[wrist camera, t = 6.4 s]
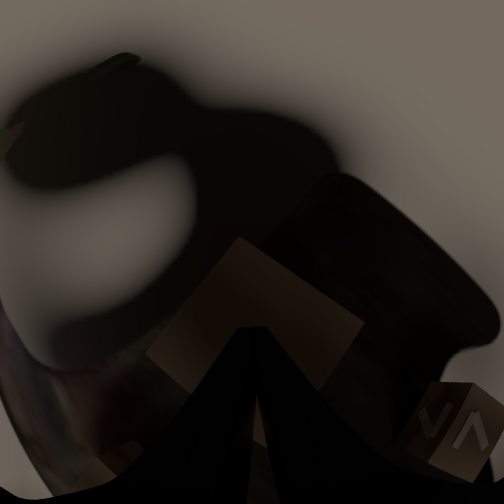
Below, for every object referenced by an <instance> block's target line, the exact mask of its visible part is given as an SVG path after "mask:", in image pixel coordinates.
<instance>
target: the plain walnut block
mask: <svg viewBox="0 0 504 504" xmlns="http://www.w3.org/2000/svg"><path fill="white" fill-rule="evenodd" d="M364 323H365V322H363V321H362V320H360V319H359V318H357V317H356V316H355V315H353V314H352V313H350V312H349V311H347V310H346V309H344V308H343V307H342V306H340V305H339V304H337V303H336V302H334V301H333V300H331V299H330V298H329V297H327V296H326V295H324V294H323V293H321V292H320V291H318V290H317V289H316V288H314V287H313V286H311V285H310V284H308V283H307V282H305V281H304V280H302V279H301V278H300V277H298V276H297V275H295V274H294V273H292V272H291V271H289V270H288V269H287V268H285V267H284V266H282V265H281V264H279V263H278V262H276V261H275V260H273V259H272V258H270V257H269V256H268V255H266V254H265V253H263V252H262V251H260V250H259V249H257V248H256V247H254V246H253V245H252V244H250V243H249V242H247V241H246V240H244V239H243V238H241V237H240V236H239V237H238V238H237V240H236V241H235V242H234V243H233V244H232V246H231V247H230V248H229V249H228V251H227V252H226V253H225V254H224V255H223V257H222V258H221V259H220V260H219V261H218V263H217V264H216V265H215V266H214V268H213V269H212V270H211V271H210V273H209V274H208V275H207V276H206V277H205V279H204V280H203V281H202V282H201V283H200V285H199V286H198V287H197V288H196V290H195V291H194V292H193V293H192V295H191V296H190V297H189V298H188V300H187V301H186V302H185V303H184V304H183V306H182V307H181V308H180V309H179V311H178V312H177V313H176V314H175V316H174V317H173V318H172V319H171V321H170V322H169V323H168V325H167V326H166V327H165V328H164V330H163V331H162V332H161V333H160V335H159V336H158V337H157V338H156V340H155V341H154V342H153V343H152V345H151V346H150V347H149V349H148V350H147V351H146V352H145V354H146V355H147V356H148V357H149V358H150V359H151V360H153V361H154V362H155V363H156V364H157V365H158V366H159V367H160V368H161V369H162V370H164V371H165V372H166V373H167V374H168V375H169V376H170V377H171V378H173V379H174V380H175V381H176V382H177V383H178V384H180V385H181V386H182V387H183V388H184V389H186V390H187V391H188V392H189V393H190V394H192V393H193V391H194V390H195V388H196V387H197V386H198V384H199V383H200V381H201V380H202V379H203V377H204V376H205V374H206V373H207V371H208V370H209V369H210V367H211V366H212V364H213V363H214V361H215V360H216V359H217V357H218V356H219V354H220V353H221V351H222V350H223V348H224V347H225V346H226V344H227V343H228V341H229V340H230V338H231V337H232V335H233V334H234V332H235V331H236V329H237V328H241V327H251V328H253V327H256V326H266V327H267V328H268V329H269V330H270V332H271V333H272V334H273V336H274V337H275V338H276V339H277V341H278V342H279V343H280V345H281V346H282V347H283V348H284V350H285V351H286V352H287V354H288V355H289V356H290V357H291V359H292V360H293V361H294V362H295V364H296V365H297V366H298V368H299V369H300V370H301V371H302V373H303V374H304V375H305V376H306V378H307V379H308V380H309V381H310V383H311V384H312V385H313V386H314V388H315V389H316V390H317V391H319V390H320V389H321V387H322V386H323V384H324V383H325V382H326V380H327V379H328V377H329V376H330V375H331V373H332V372H333V370H334V369H335V367H336V366H337V365H338V363H339V362H340V360H341V359H342V357H343V356H344V354H345V353H346V351H347V350H348V348H349V347H350V345H351V344H352V342H353V340H354V339H355V337H356V336H357V334H358V332H359V331H360V329H361V328H362V326H363V324H364ZM253 440H254V441H256V442H257V443H259V444H261V445H262V446H264V447H265V448H267V443H266V439H265V434H264V429H263V424H262V420H261V415H260V410H259V405H258V399H257V391H256V410H255V421H254V432H253ZM267 449H268V448H267Z"/></svg>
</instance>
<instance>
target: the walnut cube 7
mask: <svg viewBox="0 0 504 504" xmlns="http://www.w3.org/2000/svg"><path fill="white" fill-rule="evenodd" d="M503 430H504V406H503V405H502V404H501V403H499V402H498V401H497V400H495V399H494V398H493V397H492V396H490V395H489V394H488V393H486V392H485V391H484V390H483V389H481V388H480V387H479V386H477V385H476V384H474V383H459V382H457V383H456V382H432V381H431V383H430V385H429V387H428V388H427V390H426V392H425V394H424V395H423V397H422V399H421V400H420V402H419V404H418V405H417V407H416V409H415V410H414V412H413V413H412V415H411V417H410V418H409V420H408V421H407V423H406V424H405V426H404V427H403V429H402V430H401V432H400V433H399V435H398V436H397V437H396V439H395V440H394V442H393V443H392V444H394V445H396V446H398V447H399V448H401V449H403V450H405V451H407V452H408V453H410V454H412V455H414V456H416V457H418V458H419V459H421V460H423V461H425V462H427V463H429V464H431V465H433V466H435V467H437V468H439V469H442V470H444V471H446V472H448V473H450V474H452V475H455V476H457V477H459V478H462V479H464V480H466V481H469V482H471V483H473V481H474V480H475V478H476V477H477V475H478V474H479V472H480V471H481V469H482V468H483V466H484V464H485V463H486V461H487V459H488V458H489V456H490V454H491V452H492V451H493V449H494V447H495V445H496V443H497V442H498V440H499V438H500V436H501V434H502V432H503Z"/></svg>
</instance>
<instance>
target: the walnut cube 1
mask: <svg viewBox="0 0 504 504" xmlns="http://www.w3.org/2000/svg"><path fill="white" fill-rule="evenodd" d="M144 451H145V449H144V448H143V447H142V446H141V445H139V444H138V443H137V442H136V441H135V440H134V439H132V440H130V441H128V442H127V443H125V444H123V445H121V446H119V447H117V448H115V449H113V450H111V451H108V452H106V453H104V454H102V455H100V456H98V457H96V459H95V460H94V461H93V462H92V463H91V465H90V466H89V467H88V468H87V469H86V471H85V472H84V473H83V474H82V475H81V477H80V478H79V479H78V480H77V481H76V483H75V484H74V485H73V486H72V487H71V489H70V490H69V491H68V492H67V493H66V494H69V493H73V492H77V491H81V490H85V489H89V488H92V487H96V486H99V485H102V484H105V483H107V482H109V481H111V480H113V479H114V478H116V477H117V476H118V475H120V474H121V473H122V472H123V471H124V470H126V469H127V468H128V467H129V466H130V465H131V464H132V463H133V462H134V461H135V460H136V459H137V458H138V457H139V456H140V455H141V454H142V453H143V452H144Z"/></svg>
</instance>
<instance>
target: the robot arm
mask: <svg viewBox="0 0 504 504" xmlns="http://www.w3.org/2000/svg"><path fill="white" fill-rule="evenodd" d="M256 391H257V399H258V405H259V410H260V415H261V420H262V424H263V429H264V434H265V439H266V443H267V448H268V453H269V457H270V462H271V467H272V471H273V476H274V480H275V485H276V489H277V494H278V498H279V502H280V504H504V478H502V479H501V480H499V481H497V482H495V483H491V484H488V485H468V484H462V483H456V482H450V481H445V480H440V479H436V478H431V477H427V476H423V475H419V474H415V473H411V472H408V471H405V470H403V469H401V468H399V467H397V466H395V465H394V464H392V463H391V462H390V461H388V460H387V459H386V458H385V457H383V456H382V455H381V454H380V453H379V452H377V451H376V450H375V449H374V448H373V447H372V446H370V445H369V444H368V443H367V442H366V441H365V440H363V439H362V438H361V437H360V436H359V435H358V434H357V433H355V432H354V431H353V430H352V429H351V428H350V427H349V426H348V425H347V424H346V423H345V422H344V421H343V420H342V419H341V418H340V417H339V416H338V415H337V414H336V413H335V412H334V410H333V409H332V408H331V407H330V406H329V405H328V403H327V402H326V401H325V400H324V398H321V395H320V394H319V393H318V391H317V390H316V389H315V388H314V386H313V385H312V384H311V383H310V381H309V380H308V379H307V378H306V376H305V375H304V374H303V373H302V371H301V370H300V369H299V368H298V366H297V365H296V364H295V362H294V361H293V360H292V359H291V357H290V356H289V355H288V354H287V352H286V351H285V350H284V348H283V347H282V346H281V345H280V343H279V342H278V341H277V339H276V338H275V337H274V336H273V334H272V333H271V332H270V330H269V329H268V328H267V327H266V326H256V327H253V328H251V327H241V328H237V329H236V331H235V332H234V334H233V335H232V337H231V338H230V340H229V341H228V343H227V344H226V346H225V347H224V348H223V350H222V351H221V353H220V354H219V356H218V357H217V359H216V360H215V361H214V363H213V364H212V366H211V367H210V369H209V370H208V371H207V373H206V374H205V376H204V377H203V379H202V380H201V381H200V383H199V384H198V386H197V387H196V388H195V390H194V391H193V393H192V394H191V395H190V397H189V398H188V400H187V401H186V402H185V406H182V408H181V409H180V411H179V412H178V413H177V415H176V416H175V417H174V419H173V420H172V421H171V422H170V424H169V425H168V426H167V427H166V429H165V430H164V431H163V432H162V433H161V434H160V435H159V436H158V437H157V438H156V440H155V441H154V442H153V443H152V444H151V445H150V446H149V447H148V448H147V449H146V450H145V451H144V452H143V453H142V454H141V455H140V456H139V457H138V458H137V459H136V460H135V461H134V462H133V463H132V464H131V465H130V466H129V467H128V468H127V469H126V470H124V471H123V472H122V473H121V474H120V475H118V476H117V477H116V478H114V479H113V480H111V481H109V482H107V483H105V484H102V485H99V486H96V487H92V488H89V489H85V490H81V491H77V492H73V493H69V494H65V495H60V496H56V497H51V498H46V499H38V500H28V499H23V498H19V497H17V496H15V495H13V494H11V493H10V492H8V491H7V490H5V489H3V488H2V487H0V504H246V502H247V492H248V483H249V473H250V463H251V453H252V442H253V432H254V421H255V410H256Z"/></svg>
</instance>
